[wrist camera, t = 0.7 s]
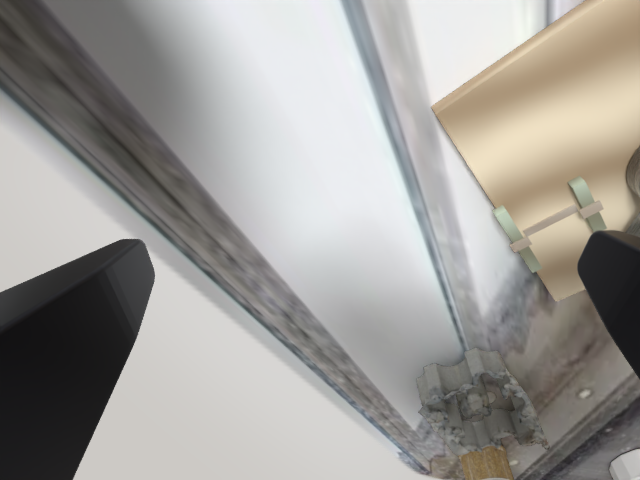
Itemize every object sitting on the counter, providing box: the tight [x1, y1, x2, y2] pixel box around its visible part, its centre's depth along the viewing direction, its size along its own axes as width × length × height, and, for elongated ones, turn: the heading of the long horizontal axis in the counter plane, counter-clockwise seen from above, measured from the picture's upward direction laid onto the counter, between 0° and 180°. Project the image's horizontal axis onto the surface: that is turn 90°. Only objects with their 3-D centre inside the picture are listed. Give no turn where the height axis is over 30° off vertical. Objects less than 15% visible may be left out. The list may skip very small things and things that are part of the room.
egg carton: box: [417, 348, 550, 455], centre depth 33 cm, size 11×8×4 cm
